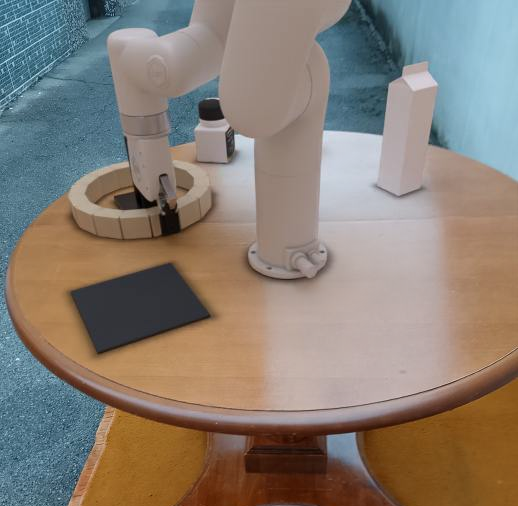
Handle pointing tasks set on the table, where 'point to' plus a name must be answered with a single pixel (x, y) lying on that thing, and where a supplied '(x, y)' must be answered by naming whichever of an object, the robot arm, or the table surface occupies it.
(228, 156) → the medicine bottle
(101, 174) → the hoop
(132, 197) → the post
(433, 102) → the milk
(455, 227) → the table surface
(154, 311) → the mat
